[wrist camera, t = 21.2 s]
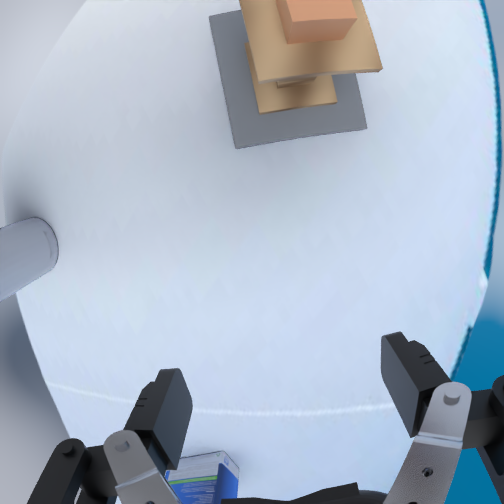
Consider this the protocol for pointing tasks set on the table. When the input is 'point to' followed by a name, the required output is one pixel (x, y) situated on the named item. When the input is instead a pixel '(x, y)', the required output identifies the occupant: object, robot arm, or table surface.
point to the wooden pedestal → (302, 59)
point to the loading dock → (284, 122)
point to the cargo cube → (315, 19)
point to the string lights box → (204, 479)
